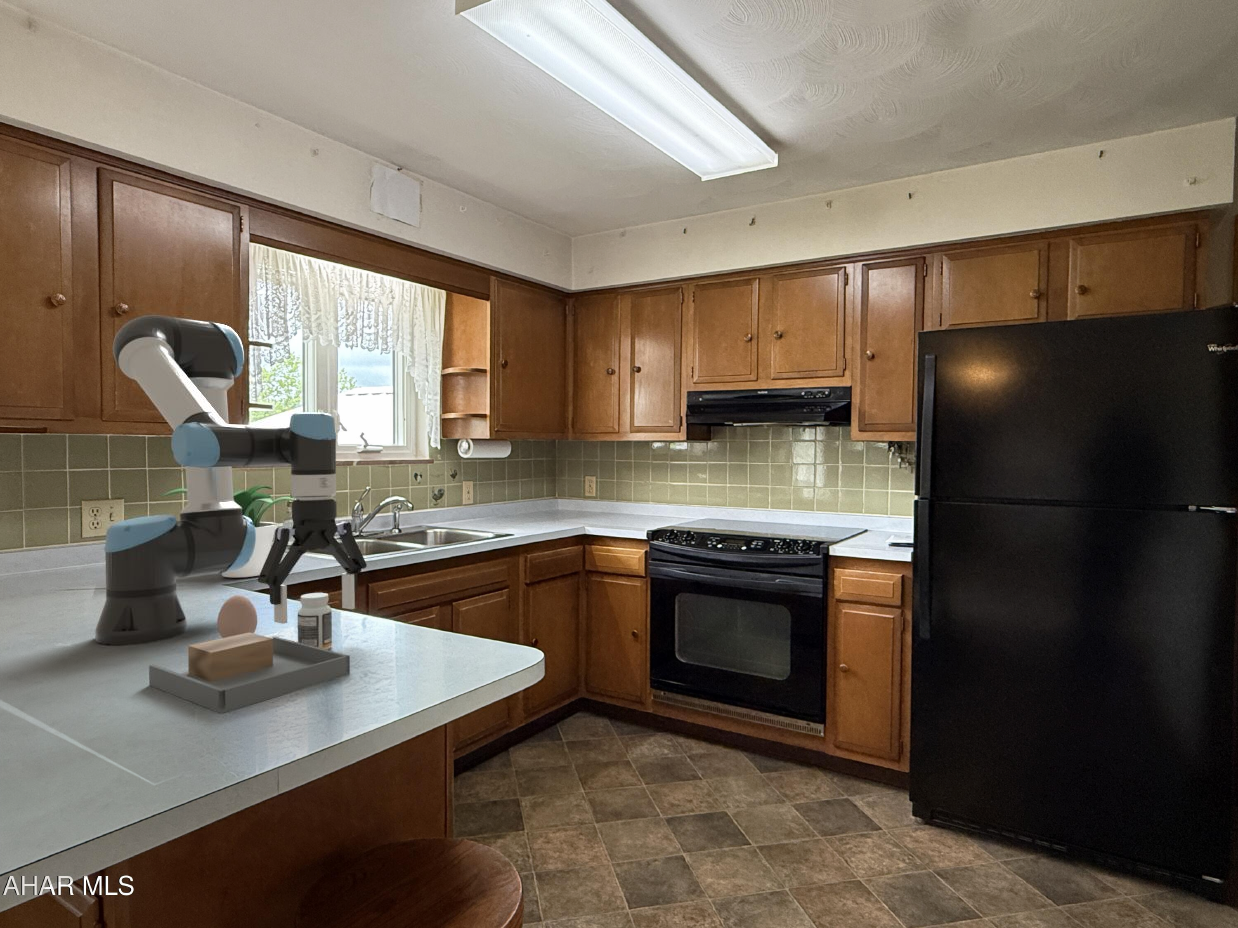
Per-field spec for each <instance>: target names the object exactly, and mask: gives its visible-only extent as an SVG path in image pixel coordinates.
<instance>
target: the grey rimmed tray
mask: <svg viewBox="0 0 1238 928" xmlns="http://www.w3.org/2000/svg"><path fill="white" fill-rule="evenodd" d="M272 638H273V666H270V667H266V668H262V669H258V670H254V671H250V672H247V673H243V674H239V675H235V676H231V677H227V678H224V679H220V680H216V681H212V682H211V681H208V680H205V679H202V678H200V677H197V676H194V675H191V674H189V671H187V672H182V673H179V672H176V671H174V670H171V669H168V668H166V667H162V666H159V665H156V664H149V665H148V676H149V677H148V680H149V682H148V683H149V686H151V687H153V688H155V689H158V690H161V691H163V692H166V693H167V694H171V695H174V696H176V697H179V698H182V699H184V700H186V701H189V702H191V703H194V704H197V705H200V706H202V707H203V708H207V709H209V710H211V711H213V712H217V713H219V714H225V713H227V712H230V711H234V710H237V709H240V708H245V707H247V706H250V705H251V706H252V705H253V704H257V703H260V702H264V701H267V700H270V699H274V698H276V697H277V698H278V697H280V696H284V695H287V694H291V693H294V692H296V691H301V690H304V689H306V688H309V687H313V686H316V685H320V684H323V683H326V682H328V681H331V680H334V679H338V678H342V677H344V676H347V675H350V673H351V672H350V671H351V669H350V668H351V665H350V664H351V662H350V661H351V657H350V656H351V655H348V654H343V653H341V652H336V651H333V650H330V649H328V650H325V649H322V648H318V647H314V646H310V645H306V644H302V643H299V642H298V641H294V640H292V639H291V640H290V639H286V638H283V637H279V636H273V637H272Z"/></svg>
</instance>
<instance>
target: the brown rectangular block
mask: <svg viewBox="0 0 1238 928" xmlns="http://www.w3.org/2000/svg"><path fill="white" fill-rule="evenodd" d="M187 647H188V652H187V653H188V654H187V655H188V657H187V658H188V659H187V660H188V663H187V664H188V672H189V674H191V675H194V676H197V677H200V678H202V679H205V680H208V681H211V682H212V681H216V680H220V679H224V678H227V677H231V676H235V675H239V674H243V673H247V672H250V671H254V670H258V669H262V668H266V667H270V666H273V637H267V636H264V635H261V634H257V633H255V632H254V633H250V632H249V633H245V634H240V635H235V636H231V637H226V638H222V637H221V638H218V639H213V640H208V641H204V642H200V643H199V642H198V643H194V644H190V645H188V646H187Z"/></svg>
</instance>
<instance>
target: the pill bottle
mask: <svg viewBox="0 0 1238 928" xmlns="http://www.w3.org/2000/svg"><path fill="white" fill-rule="evenodd" d="M328 602H329V594H328V593H327V592H325V593H324V592H312V593H311V592H310V593H305V594H302V595H301V596H300V604H301V607H300V608H299V609H298V611H297V642H299V643H302V644H306V645H310V646H314V647H318V648H322V649H325V650H330V649H331V648H332V645H333V644H332V643H333V638H332V637H333V636H332V635H333V632H332V631H333V629H332V628H333V626H332V625H333V624H332V623H333V621H332V618H333V616H332V614H333V613H332V608H331V606H330V605H328Z"/></svg>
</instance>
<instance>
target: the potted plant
mask: <svg viewBox="0 0 1238 928" xmlns="http://www.w3.org/2000/svg"><path fill="white" fill-rule="evenodd" d="M260 489H268V490H273V489H272V488H271V486H268V485H264V484H261V485H260V484H259V485H254V486H251V487H250V488H248V489H247V490H245V489H233V499H234V501H235V502H236V503H237V504H238V505H239V506H241V507H242V515H244V516H246V517H249V518H250V519H251V520H252V522H253V525H254V526H255V531H256V542H255V548H254V552H253V554H252V557H251V558H250V560H249V561H248V563H247V564H246V565H245V566H243V567H242V568H240V569H237V570H232V571H227V572H225V573H221V575H222V577H225V578H249V577H257V576H259V575H260V573H261V570H262V568H263V566H264V563H265V561H266V559H267V556H268V554H269V552H270V550H271V547H272V545H273V539H274V537H275V530H276V528H279V522H278V523H277V522H272V521H261V520H262V517H263V516H264V514H265V513H266V512H267V511H268V510H269V509H270V508H272V506H273V505H275V504H278V503H279V502H282V501H283V502H284V501H288V502H289V501H291V502H293V500H295V497H290V496H283V497H281V496H280V497H278V498H275V499H274V500H273V499H272V498H271V495H270V494H269V493H268V494H267V493H264V492H259V490H260ZM177 494H187V488H177V489H174V490H170V491H168V492H167V493H164V494H162V495H161V496H160V497H161V498H162V497H168V496H172V495H177ZM265 503H267V504H266V505H265V506H264V504H265ZM263 506H264V507H263ZM261 509H262V510H261Z"/></svg>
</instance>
